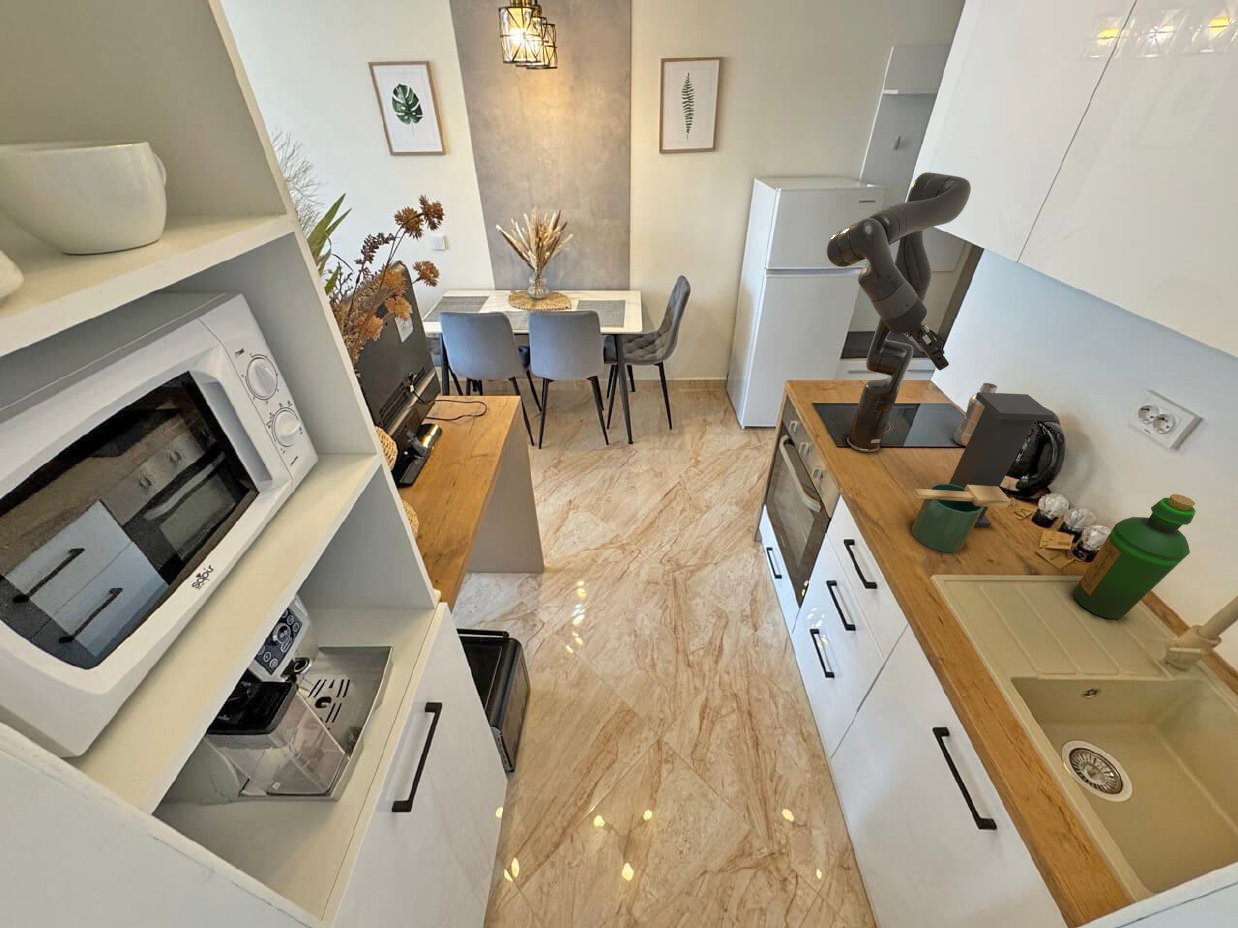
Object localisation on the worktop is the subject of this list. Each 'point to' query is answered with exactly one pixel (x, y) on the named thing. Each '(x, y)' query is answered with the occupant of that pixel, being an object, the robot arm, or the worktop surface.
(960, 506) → the crock
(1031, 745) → the worktop surface
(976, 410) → the plastic bottle
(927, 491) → the spatula
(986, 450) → the stand
